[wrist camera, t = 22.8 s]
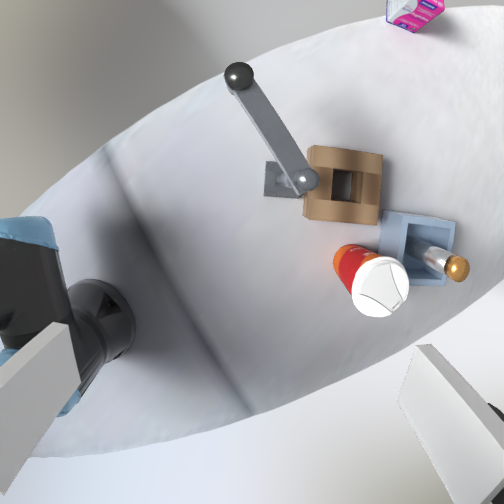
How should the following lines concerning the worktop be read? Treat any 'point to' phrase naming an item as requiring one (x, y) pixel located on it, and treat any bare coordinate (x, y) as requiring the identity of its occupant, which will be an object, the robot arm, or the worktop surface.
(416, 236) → the blue open box
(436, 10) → the supplement box
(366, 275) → the paper cup
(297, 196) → the base
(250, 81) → the grey tall angled piece
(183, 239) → the worktop surface
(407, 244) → the pin
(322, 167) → the socket block
